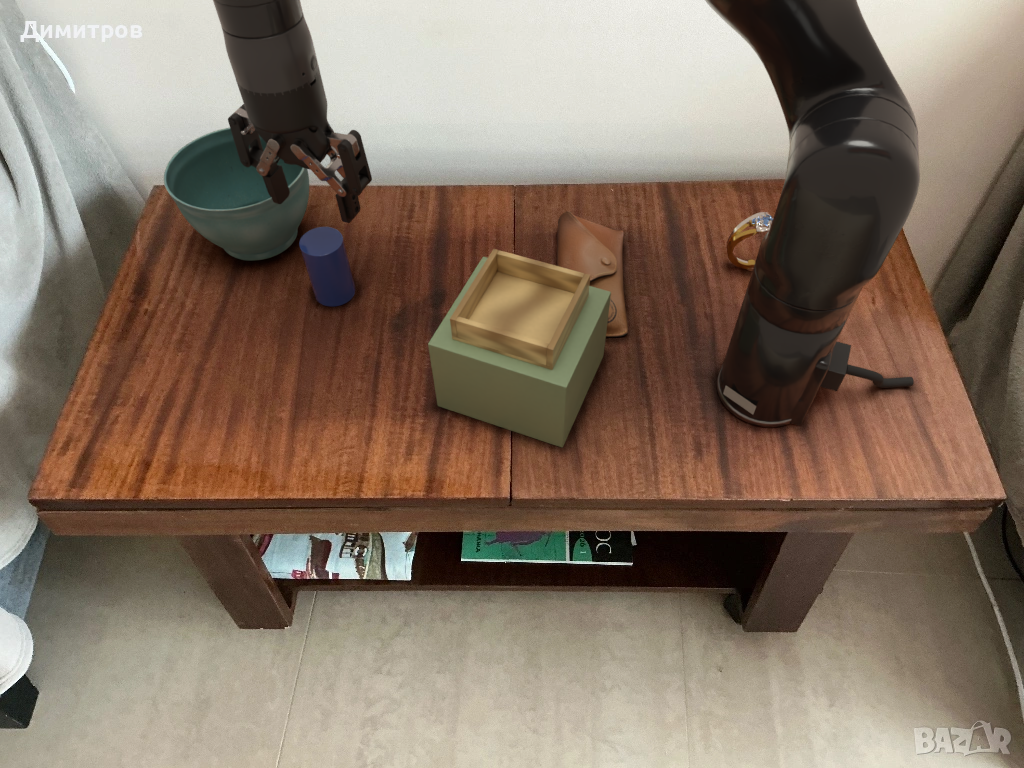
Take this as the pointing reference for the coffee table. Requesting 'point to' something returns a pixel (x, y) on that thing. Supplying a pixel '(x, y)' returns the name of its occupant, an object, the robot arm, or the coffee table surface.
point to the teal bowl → (235, 198)
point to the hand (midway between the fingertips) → (316, 208)
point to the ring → (761, 224)
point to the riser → (521, 375)
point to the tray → (521, 308)
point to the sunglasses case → (595, 262)
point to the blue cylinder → (327, 266)
